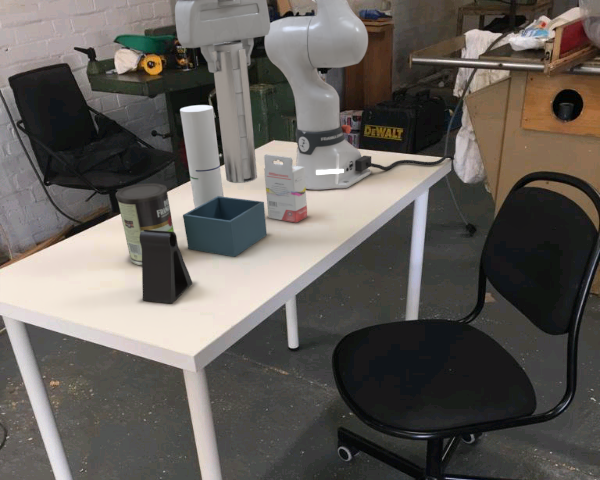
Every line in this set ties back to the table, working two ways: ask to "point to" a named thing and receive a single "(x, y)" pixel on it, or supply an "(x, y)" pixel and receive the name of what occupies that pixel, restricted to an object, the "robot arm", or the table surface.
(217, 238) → the case
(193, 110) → the cylindrical container
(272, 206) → the ink cartridge box
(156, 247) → the phone stand
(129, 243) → the coffee can
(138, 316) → the table surface
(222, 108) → the silver tall cylinder
